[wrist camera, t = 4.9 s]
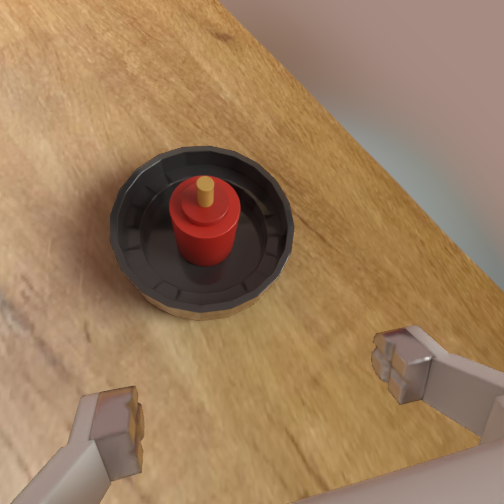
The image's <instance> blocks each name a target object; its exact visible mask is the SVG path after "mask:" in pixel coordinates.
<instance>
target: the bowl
mask: <svg viewBox="0 0 504 504" xmlns="http://www.w3.org/2000/svg"><path fill="white" fill-rule="evenodd" d="M195 176H213V177H216V178H219V179H221V180H223V181H225V182H227V183H228V184H229V185H230V186H231V187H232V188H233V189H234V190H235V192H236V193H237V195H238V198H239V201H240V215H239V220H238V225H237V229H236V234H235V239H234V243H233V247H232V250H231V252H230V254H229V255H228V257H227V258H226V259H225V260H223V261H222V262H221V263H219V264H217V265H214V266H208V267H202V266H197V265H194V264H192V263H190V262H188V261H187V260H186V259H184V258H183V256H182V255H181V254H180V252H179V250H178V247H177V243H176V239H175V234H174V230H173V225H172V220H171V216H170V211H169V202H170V198H171V195H172V193H173V192H174V190H175V189H176V188H177V186H178V185H179V184H181V183H182V182H183V181H185V180H187V179H189V178H192V177H195ZM293 235H294V222H293V218H292V213H291V208H290V203H289V201H288V199H287V197H286V196H285V194H284V192H283V191H282V189H281V187H280V185H279V184H278V182H277V181H276V179H275V178H273V177H272V176H271V175H270V174H269V173H268V172H267V171H266V170H265V169H264V168H263V167H262V166H261V165H260V164H258V163H257V162H255V161H253V160H251V159H249V158H247V157H245V156H243V155H241V154H239V153H238V152H235V151H232V150H227V149H222V148H218V147H213V146H193V147H181V148H178V149H175V150H172V151H169V152H165V153H162V154H159V155H157V156H156V157H154V158H153V159H151V160H150V161H148V162H147V163H145V164H144V165H142V166H141V167H139V168H138V169H136V170H135V171H134V172H133V174H132V175H131V176H130V177H129V179H128V180H127V181H126V182H125V184H124V185H123V186H122V187H121V189H120V190H119V192H118V195H117V198H116V201H115V203H114V206H113V209H112V212H111V215H110V243H111V246H112V248H113V251H114V253H115V256H116V259H117V261H118V264H119V266H120V269H121V270H122V272H123V273H124V274H125V275H126V277H127V278H128V279H129V280H130V282H131V283H132V284H133V285H134V286H135V287H136V288H137V290H138V291H139V292H140V293H141V294H142V295H143V296H144V297H145V299H146V300H147V301H148V302H149V303H151V304H152V305H154V306H156V307H158V308H160V309H162V310H163V311H165V312H167V313H169V314H171V315H173V316H176V317H181V318H187V319H192V320H197V321H205V320H213V319H220V318H227V317H230V316H232V315H234V314H236V313H238V312H240V311H242V310H244V309H247V308H249V307H251V306H252V305H253V304H254V303H255V302H257V301H258V300H259V299H260V298H261V297H262V296H263V295H264V294H265V293H266V292H267V291H268V290H269V289H270V288H271V286H272V285H273V284H274V282H275V281H276V280H277V278H278V277H279V276H280V274H281V272H282V270H283V268H284V266H285V264H286V262H287V260H288V258H289V256H290V254H291V250H292V243H293Z"/></svg>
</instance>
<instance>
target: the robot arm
mask: <svg viewBox="0 0 504 504" xmlns="http://www.w3.org/2000/svg"><path fill="white" fill-rule="evenodd" d="M373 343H374V344H375V346H376V348H375V349H374V350H373V351H372V354H371V362H372V366H373V369H374V371H375V373H376V375H377V376H378V377H379V379H381V380H382V381H384V382H386V383H388V390H389V392H390V393H391V394H392V396H393V397H394V398H395V400H396V401H397V402H398V403H399V405H401V404H406V403H410V402H414V401H419V400H423V402H425V403H427V404H428V405H430V406H431V407H433V408H435V409H436V410H438V411H439V412H441V413H443V414H444V415H446V416H448V417H449V418H451V419H452V420H454V421H456V422H457V423H459V424H460V425H462V426H464V427H465V428H467V429H468V430H470V431H472V432H473V433H475V434H476V435H478V436H480V437H481V439H480V441H479V444H478V446H475V447H472V448H469V449H466V450H462V451H459V452H456V453H452V454H449V455H446V456H442V457H439V458H436V459H433V460H429V461H426V462H423V463H419V464H416V465H413V466H410V467H406V468H403V469H400V470H396V471H393V472H390V473H387V474H383V475H380V476H377V477H373V478H370V479H367V480H364V481H360V482H357V483H354V484H350V485H347V486H344V487H341V488H337V489H334V490H331V491H327V492H324V493H321V494H317V495H314V496H311V497H308V498H304V499H301V500H298V501H294V502H291V503H288V504H504V373H503V372H500V371H497V370H495V369H492V368H490V367H487V366H485V365H482V364H479V363H477V362H474V361H472V360H469V359H467V358H464V357H461V356H459V355H456V354H449V353H448V352H447V351H446V350H445V349H443V348H442V347H441V346H440V345H439V344H438V343H437V342H436V341H435V340H433V339H432V338H431V337H430V336H429V335H428V334H427V333H426V332H425V331H423V330H422V329H421V328H420V327H419V326H417V325H411V326H407V327H402V328H398V329H394V330H389V331H385V332H380V333H376V334H375V336H374V339H373ZM143 437H144V415H143V409H142V406H141V404H140V403H138V392H137V389H136V386H129V387H124V388H119V389H113V390H108V391H103V392H100V393H94V394H89V395H84V396H82V398H81V399H80V400H79V404H78V408H77V411H76V415H75V418H74V422H73V425H72V429H71V432H70V436H69V440H68V443H67V446H64V447H61V448H60V449H59V450H58V451H57V452H56V454H55V455H54V456H53V457H52V458H51V459H50V460H49V461H48V462H47V464H46V465H45V466H44V467H43V468H42V469H41V470H40V471H39V472H38V473H37V475H36V476H35V477H34V478H33V479H32V480H31V481H30V482H29V483H28V485H27V486H26V487H25V488H24V489H23V490H22V491H21V492H20V493H19V495H18V496H17V497H16V498H15V499H14V500H13V501H12V502H11V503H10V504H99V503H100V502H101V500H102V498H103V497H104V495H105V493H106V492H107V490H108V488H109V486H110V485H111V481H115V480H118V479H122V478H125V477H128V476H132V475H135V474H139V473H142V462H143V448H142V445H141V440H142V439H143Z"/></svg>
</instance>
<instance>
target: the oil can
mask: <svg viewBox="0 0 504 504" xmlns="http://www.w3.org/2000/svg"><path fill="white" fill-rule="evenodd" d="M169 211H170V216H171V220H172V225H173V230H174V234H175V239H176V243H177V247H178V250H179V252H180V254H181V255H182V256H183V258H184V259H186V260H187V261H188V262H190V263H192V264H194V265H197V266H202V267H208V266H214V265H217V264H219V263H221V262H222V261H223V260H225V259H226V258H227V257H228V255H229V254H230V252H231V250H232V247H233V243H234V239H235V234H236V229H237V225H238V220H239V215H240V201H239V198H238V195H237V193H236V192H235V190H234V189H233V188H232V187H231V186H230V185H229V184H228V183H227V182H225V181H223V180H221V179H219V178H216V177H213V176H195V177H192V178H189V179H187V180H185V181H183V182H182V183H181V184H179V185H178V186H177V188H176V189H175V190H174V192H173V193H172V195H171V198H170V202H169Z"/></svg>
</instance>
